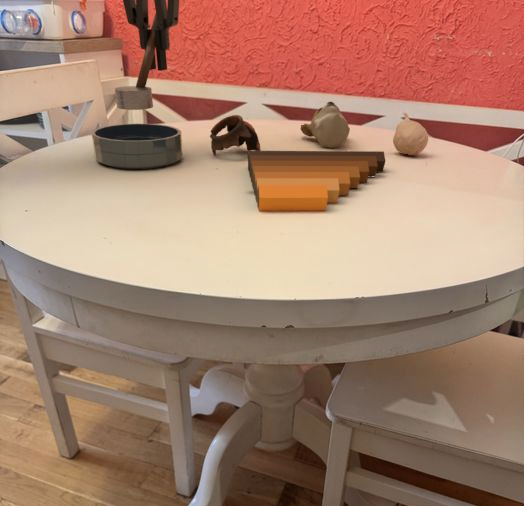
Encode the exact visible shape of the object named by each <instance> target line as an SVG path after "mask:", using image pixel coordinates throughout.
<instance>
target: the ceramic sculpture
mask: <svg viewBox="0 0 524 506" xmlns="http://www.w3.org/2000/svg"><path fill="white" fill-rule="evenodd" d="M350 130H351V128H350V127H349V124H348V121H347V119H346V118H345V116H344V115H343V114H342V112H341V110H340V108H339V106H338V105H336V104H335V102H333V101H328V102H326V104H325V105H324V106H322V107H319V108H318V109H317V110H316V111H315V112H314V114H313V117H312V118H311V121H310V123H303V124H300V131H301V133H302V134H303V135H304V136H306V137H309V138H311V137H314V139H316V140H317V141H318V143H319V145H320V146H321V147H324V148H325V147H326V148H328V149H333V148H337V147H341V146H342V145H344V144H345V142H346V141H347V139H348V137H349V135H350Z"/></svg>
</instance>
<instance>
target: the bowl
mask: <svg viewBox="0 0 524 506" xmlns="http://www.w3.org/2000/svg"><path fill="white" fill-rule="evenodd" d="M182 137H183V135H182V131H181V130H180V129H179V128H178V127H175V126H171V125H165V124H159V123H157V124H156V123H121V124H112V125H107V126H101V127H99V128H96V129H94V130H92V131H91V139H92V146H93V152H94V158H95V160H96V162H98V163H101V164H102V165H106V166H108V167H111V168H116V169H124V170H149V169H158V168H163V167H167V166H170V165H172V164H174V163H177V162H179V161H181V160H182V159H183V155H184V154H183V152H184V151H183V138H182Z"/></svg>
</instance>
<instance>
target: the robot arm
mask: <svg viewBox="0 0 524 506" xmlns="http://www.w3.org/2000/svg"><path fill="white" fill-rule="evenodd" d="M153 1H154V8H155V9H154V10H155V14H156V16H157V23H158V26H156V27H157V29H158V30H154V32H155V43H156V48H155V52H154V56H153V60H152V63H151V67H150V71H153V70H157V71H158V72H159V71H160V72H161V71H166V70H168V61H167V51H169V50H170V48H171V45H170V33H169V32H170V29H171V28H172V27H175V26H177V25H178V24H179V12H180V0H153ZM122 2H123V8H124V11H125V16H126V19H127V23H128V24H129V25H132V26H134V27H136V28H137V30H138V37H139V46H140V49H141V50H144V51H145V50H146V46H147V42H148V39H149V35H150V31H151V24H149V22H150V21H149V0H122Z"/></svg>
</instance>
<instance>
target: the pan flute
mask: <svg viewBox="0 0 524 506" xmlns="http://www.w3.org/2000/svg"><path fill="white" fill-rule="evenodd" d="M385 165H386V157H385V151H383V150H382V151H381V150H380V151H379V150H377V151H376V150H375V151H370V150H369V151H366V150H365V151H363V150H360V151H359V150H357V151H356V150H353V151H352V150H351V151H350V150H349V151H348V150H346V151H345V150H261V151H256V150H250V151H247V170H248V172H249V173H248V175H249V177H250V183H251V185H252V189H253V194H254V196H255V201H256V204H257V205H256V206H257V210H258V211H260V212H261V211H262V212H263V211H267V212H269V211H271V212H272V211H273V212H274V211H277V212H279V211H284V212H285V211H326V210H327V206H328V204H330V203H331V204H337V203H338V200H339V195H348V196H349V192H350V189H349V188H357V189H358V188H359V184H360V183H359V182H366V183H367V182H368V178H369V177H368V176H375V177H376V174H377V172H376V171H383V172H384V168H385Z"/></svg>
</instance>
